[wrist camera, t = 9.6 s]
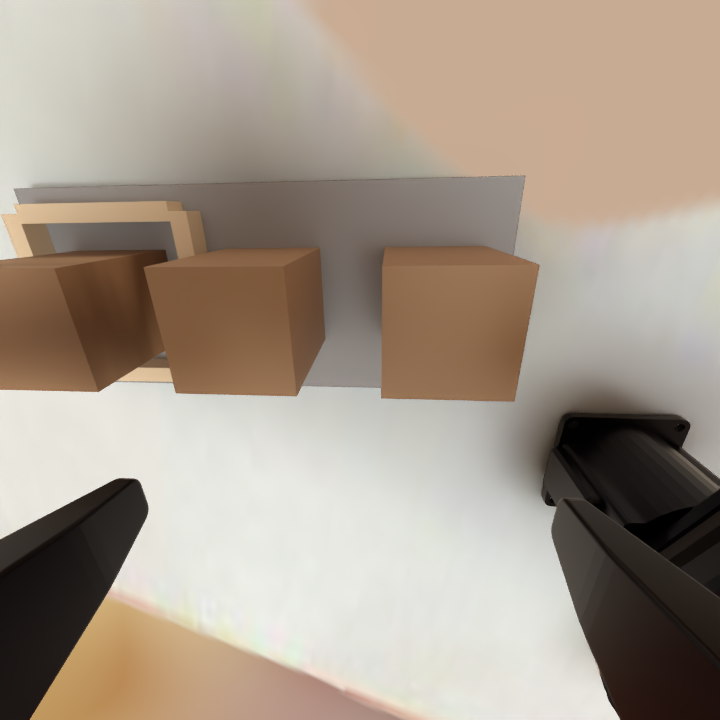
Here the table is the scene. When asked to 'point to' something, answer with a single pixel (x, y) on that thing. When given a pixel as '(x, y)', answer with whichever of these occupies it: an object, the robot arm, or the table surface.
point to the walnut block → (76, 319)
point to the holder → (314, 280)
